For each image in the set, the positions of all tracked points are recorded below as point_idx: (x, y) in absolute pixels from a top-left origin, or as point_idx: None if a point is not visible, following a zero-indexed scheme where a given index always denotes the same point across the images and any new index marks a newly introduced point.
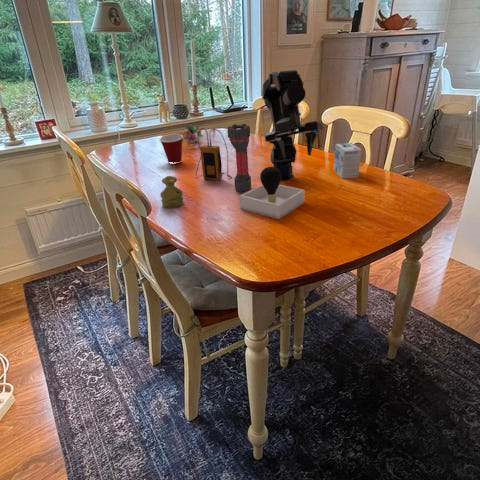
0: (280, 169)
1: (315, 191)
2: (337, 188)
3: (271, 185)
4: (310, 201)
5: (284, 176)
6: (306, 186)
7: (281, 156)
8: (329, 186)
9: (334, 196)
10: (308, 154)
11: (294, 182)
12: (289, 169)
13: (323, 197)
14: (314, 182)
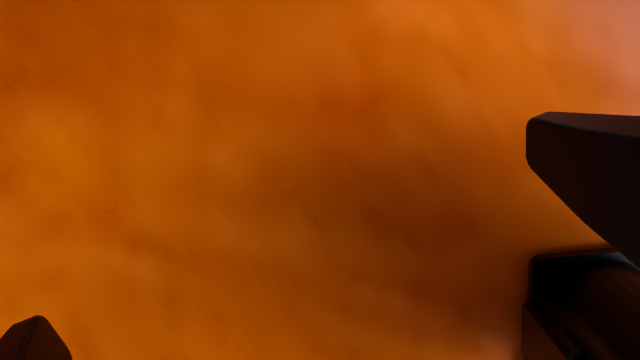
0: (636, 307)
1: (185, 211)
2: (97, 351)
3: None
4: (70, 3)
5: (564, 292)
6: (310, 258)
7: (619, 115)
8: (169, 352)
9: (4, 210)
10: (28, 323)
11: (443, 274)
12: (557, 355)
13: (52, 143)
14: (311, 357)
